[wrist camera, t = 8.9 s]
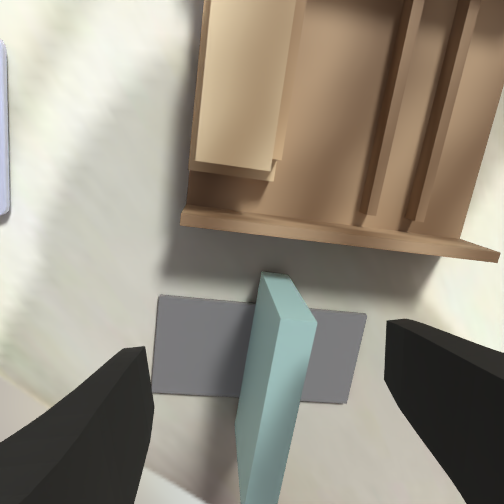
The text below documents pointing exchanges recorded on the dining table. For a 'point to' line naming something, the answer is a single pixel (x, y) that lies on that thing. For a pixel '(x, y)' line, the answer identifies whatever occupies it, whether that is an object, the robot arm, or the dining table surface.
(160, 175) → the dining table surface
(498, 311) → the dining table surface
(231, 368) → the mat
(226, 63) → the rack
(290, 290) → the teal rectangular block
